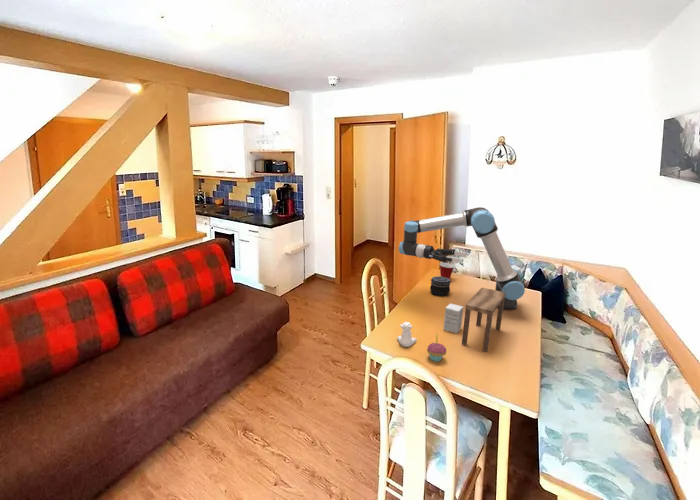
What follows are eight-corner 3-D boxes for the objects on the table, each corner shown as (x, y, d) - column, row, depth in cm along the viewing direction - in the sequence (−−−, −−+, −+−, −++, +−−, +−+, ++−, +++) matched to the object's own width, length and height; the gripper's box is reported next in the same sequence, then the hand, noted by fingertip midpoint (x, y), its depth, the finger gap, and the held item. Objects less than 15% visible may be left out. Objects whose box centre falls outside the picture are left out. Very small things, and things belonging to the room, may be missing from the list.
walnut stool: (461, 344, 184) (465, 304, 178) (477, 323, 206) (481, 287, 201) (486, 352, 178) (492, 311, 172) (500, 329, 200) (505, 292, 195)
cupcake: (424, 354, 175) (426, 330, 172) (442, 353, 176) (444, 330, 173) (429, 364, 167) (431, 339, 164) (448, 363, 167) (451, 339, 164)
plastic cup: (453, 283, 267) (455, 267, 264) (438, 282, 269) (439, 266, 266) (452, 278, 277) (454, 262, 274) (437, 277, 279) (439, 261, 276)
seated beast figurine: (416, 341, 186) (418, 318, 183) (415, 350, 178) (417, 326, 175) (397, 338, 188) (398, 316, 185) (395, 347, 180) (396, 324, 177)
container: (437, 288, 257) (438, 274, 254) (453, 293, 248) (455, 279, 245) (425, 292, 249) (426, 278, 246) (442, 298, 240) (443, 283, 237)
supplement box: (447, 324, 205) (450, 302, 201) (461, 328, 201) (463, 306, 197) (442, 329, 199) (445, 307, 195) (456, 333, 195) (459, 311, 191)
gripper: (432, 253, 227) (468, 259, 216) (416, 263, 207) (454, 270, 196) (433, 240, 225) (469, 246, 214) (416, 249, 205) (455, 256, 194)
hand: (462, 257), depth 205 cm, fingers open, 13 cm apart
